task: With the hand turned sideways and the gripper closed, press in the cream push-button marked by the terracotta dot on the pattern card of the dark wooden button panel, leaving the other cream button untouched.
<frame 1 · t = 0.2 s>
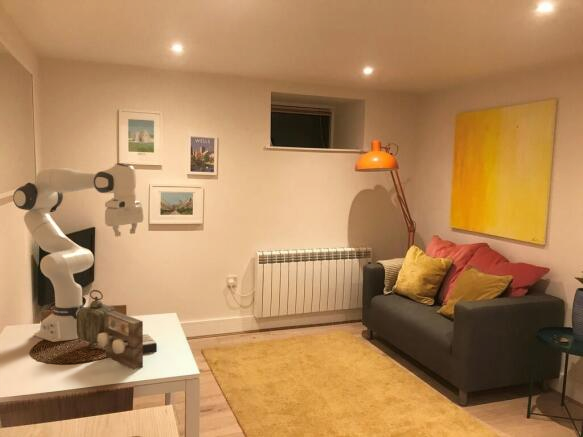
hand: (125, 234, 203), 48 cm above the table, tool pointing down, fingers open, 8 cm apart
button 1: (108, 338, 190), point 9 cm above the table, slide at 0.0 cm
button 2: (124, 344, 183), point 9 cm above the table, slide at 0.0 cm
calculator: (139, 348, 205), on the table
button panel: (119, 362, 188), on the table
tabletop clock: (96, 348, 203), on the table
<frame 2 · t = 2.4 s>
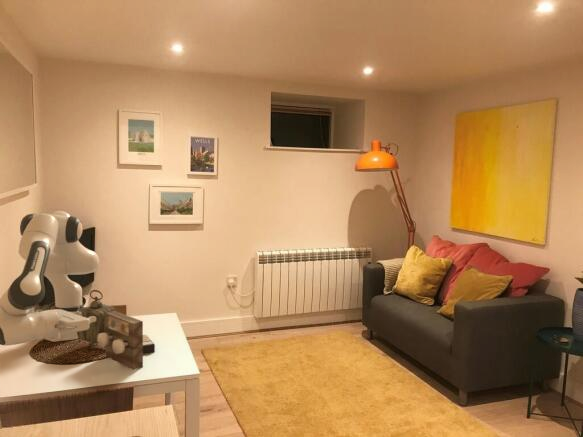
hand: (88, 316, 170), 23 cm above the table, tool horizontal, fingers open, 8 cm apart
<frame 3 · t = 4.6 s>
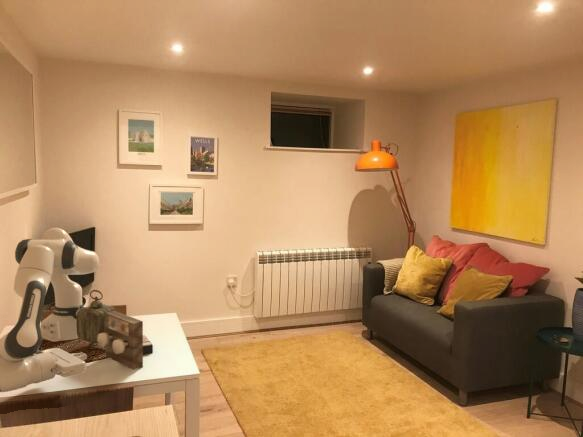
hand: (85, 355, 171), 9 cm above the table, tool horizontal, fingers closed
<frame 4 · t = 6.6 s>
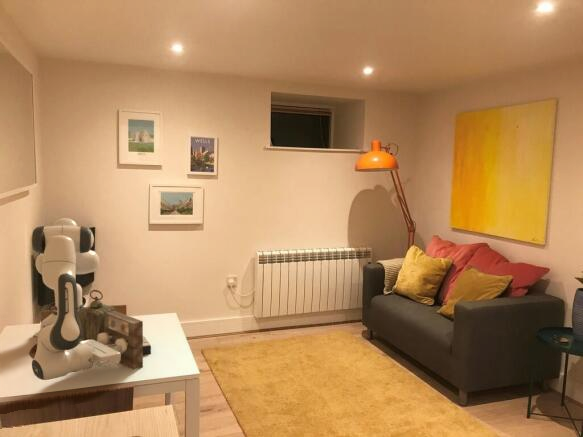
hand: (118, 346, 181), 9 cm above the table, tool horizontal, fingers closed, pressing on button 2
button 2: (126, 344, 184), point 9 cm above the table, slide at 1.0 cm, touching gripper
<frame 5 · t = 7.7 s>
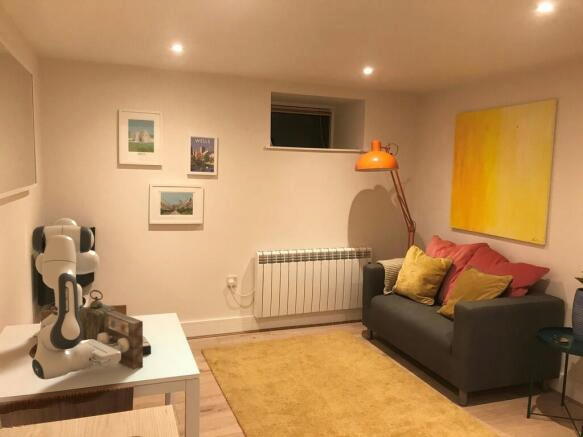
hand: (118, 346, 181), 9 cm above the table, tool horizontal, fingers closed
button 2: (128, 343, 185), point 9 cm above the table, slide at 2.1 cm
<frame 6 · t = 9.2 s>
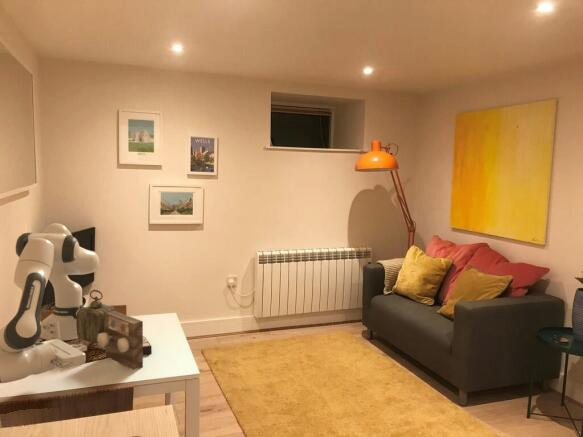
hand: (84, 346, 171), 12 cm above the table, tool horizontal, fingers closed
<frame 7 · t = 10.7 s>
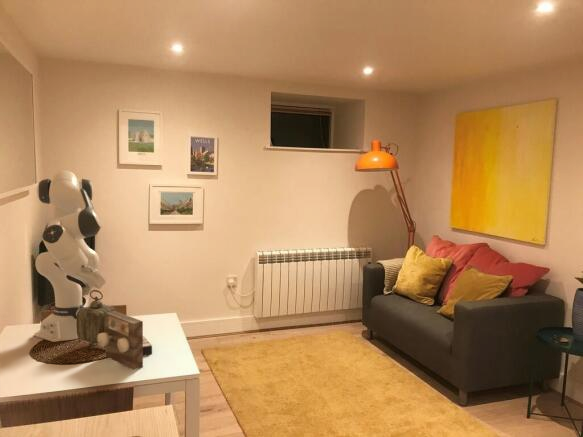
hand: (90, 285, 182), 31 cm above the table, tool tilted 40°, fingers closed
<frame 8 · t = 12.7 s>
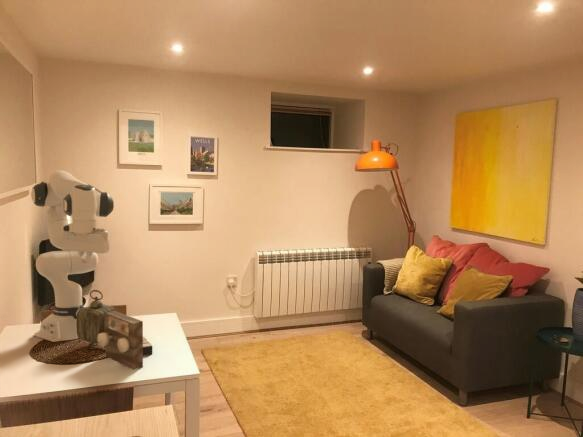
hand: (85, 262, 186), 39 cm above the table, tool pointing down, fingers closed
at the end: button 2 slide at 2.1 cm; button 1 slide at 0.0 cm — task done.
